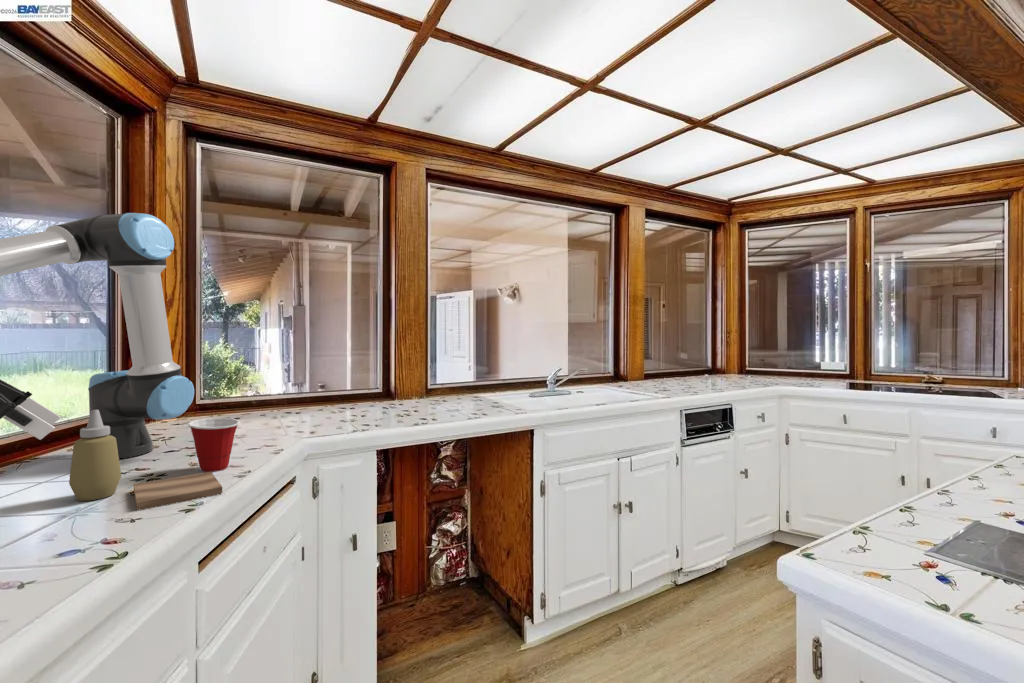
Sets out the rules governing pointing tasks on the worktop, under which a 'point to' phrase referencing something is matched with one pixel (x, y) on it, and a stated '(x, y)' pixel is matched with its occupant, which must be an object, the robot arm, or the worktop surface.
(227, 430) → the plastic cup
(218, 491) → the walnut board
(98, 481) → the squeeze bottle
